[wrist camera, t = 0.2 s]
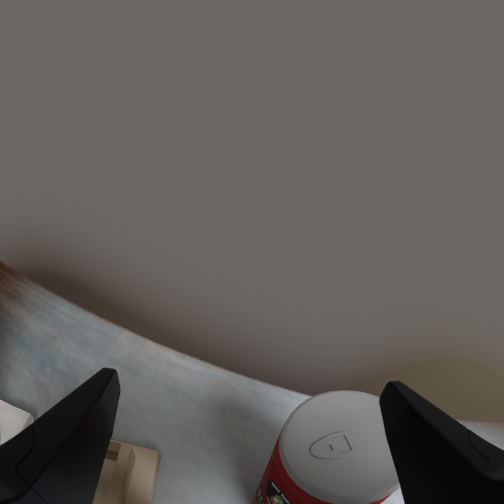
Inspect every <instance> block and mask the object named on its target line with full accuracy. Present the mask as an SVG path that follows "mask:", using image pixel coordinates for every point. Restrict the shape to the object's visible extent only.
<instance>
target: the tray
mask: <svg viewBox="0 0 504 504" xmlns="http://www.w3.org/2000/svg"><path fill="white" fill-rule="evenodd" d="M34 421H35V420H34V419H33V417H32V415H31V414H30V413H28V412H26V411H23V410H21V409H19V408H17V407H14V406H12V405H10V404H8V403H6V402H4V401H2V400H0V434H1V442H0V445H2V444H3V443H5V442H6V441H8V440H9V439H11V438H13V437H14V436H15V435H17V434H18V433H20V432H21V431H22V430H24V429H25V428H26V427H28V426H29V425H30V424H32V423H33V422H34Z"/></svg>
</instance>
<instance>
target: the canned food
mask: <svg viewBox="0 0 504 504" xmlns="http://www.w3.org/2000/svg"><path fill="white" fill-rule="evenodd" d="M379 398H380V397H377V396H375V395H372V394H368V393H365V392H358V391H352V390H351V391H350V390H339V391H330V392H326V393H322V394H319V395H316V396H314V397H312V398H309V399H307V400H306V401H304V402H303V403H302V404H300V405H299V406H298V407H297V408H296V409H295V410H294V411H293V412H292V413H291V415H290V416H289V418H288V419H287V421H286V423H285V425H284V426H283V428H282V431H281V433H280V436H279V438H278V440H277V442H276V445H275V448H274V450H273V453H272V455H271V458H270V460H269V463H268V465H267V468H266V470H265V472H264V475H263V477H262V480H261V482H260V484H259V487H258V489H257V492H256V495H255V499H254V504H380V503H382V502H383V501H384V500H385V499H387V498H388V497H389V496H390V495H391V494H392V493H394V492H395V491H396V490H397V489H398V488H399V487H400V484H399V480H398V477H397V473H396V469H395V466H394V463H393V459H392V456H391V452H390V449H389V446H388V442H387V439H386V435H385V430H384V425H383V420H382V415H381V410H380V405H379Z"/></svg>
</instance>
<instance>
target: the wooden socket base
mask: <svg viewBox="0 0 504 504" xmlns="http://www.w3.org/2000/svg"><path fill="white" fill-rule="evenodd" d="M159 462H160V452H159V450H156V449H151V448H146V447H141V446H136V445H132V444H128V443H123V442H119V441H115V440H112V439H111V440H110V443H109V447H108V450H107V453H106V457H105V460H104V464H103V467H102V471H101V474H100V478H99V482H98V485H97V489H96V493H95V497H94V501H93V504H152V499H153V494H154V488H155V483H156V477H157V472H158V467H159Z"/></svg>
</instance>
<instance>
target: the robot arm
mask: <svg viewBox="0 0 504 504" xmlns="http://www.w3.org/2000/svg"><path fill="white" fill-rule="evenodd" d="M119 396H120V384H119V379H118V374H117V371H116V370H115V369H111V368H102V369H101V370H100V371H99V372H97V373H96V374H95V375H93V376H92V377H91V378H90V379H88V380H87V381H86V382H84V383H83V384H82V385H81V386H79V387H78V388H77V389H75V390H74V391H73V392H71V393H70V394H69V395H68V396H66V397H65V398H64V399H62V400H61V401H60V402H59V403H57V404H56V405H55V406H53V407H52V408H51V409H50V410H48V411H47V412H46V413H44V414H43V415H42V416H41V417H39V418H38V419H37V420H35V421H34V422H33V423H32V424H30V425H29V426H28V427H26V428H25V429H24V430H22V431H21V432H20V433H18V434H17V435H15V436H14V437H13V438H11V439H9V440H8V441H6V442H5V443H3V444H2V445H0V504H93V501H94V497H95V493H96V489H97V485H98V482H99V478H100V474H101V471H102V467H103V464H104V460H105V457H106V453H107V450H108V447H109V443H110V440H111V437H112V433H113V428H114V423H115V417H116V412H117V407H118V401H119ZM379 405H380V410H381V415H382V420H383V425H384V430H385V435H386V439H387V442H388V446H389V449H390V452H391V456H392V459H393V463H394V466H395V469H396V473H397V477H398V480H399V484H400V487H401V491H402V495H403V499H404V503H405V504H504V450H502V449H500V448H498V447H496V446H494V445H493V444H491V443H489V442H487V441H486V440H484V439H482V438H481V437H479V436H478V435H476V434H475V433H473V432H472V431H471V430H469V429H468V430H467V428H466V427H465V426H463V425H462V424H460V423H459V422H457V421H456V420H455V419H453V418H451V417H450V416H449V415H447V414H446V413H444V412H443V411H442V410H440V409H439V408H437V407H436V406H434V405H433V404H432V403H430V402H429V401H427V400H426V399H424V398H423V397H422V396H420V395H419V394H417V393H416V392H415V391H413V390H412V389H410V388H409V387H408V386H406V385H405V384H403V383H402V382H401V381H389V382H388V383H387V384H386V386H385V388H384V390H383V392H382V394H381V396H380V398H379Z"/></svg>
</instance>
